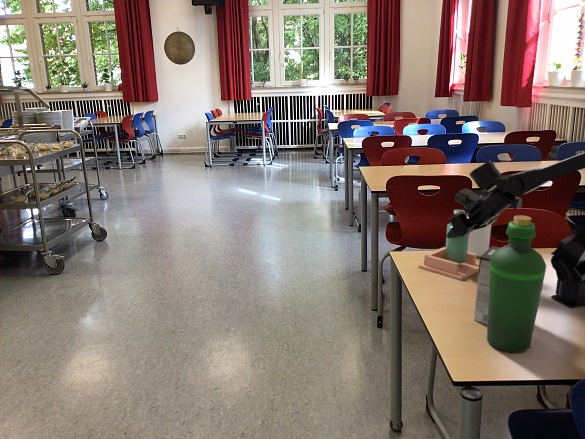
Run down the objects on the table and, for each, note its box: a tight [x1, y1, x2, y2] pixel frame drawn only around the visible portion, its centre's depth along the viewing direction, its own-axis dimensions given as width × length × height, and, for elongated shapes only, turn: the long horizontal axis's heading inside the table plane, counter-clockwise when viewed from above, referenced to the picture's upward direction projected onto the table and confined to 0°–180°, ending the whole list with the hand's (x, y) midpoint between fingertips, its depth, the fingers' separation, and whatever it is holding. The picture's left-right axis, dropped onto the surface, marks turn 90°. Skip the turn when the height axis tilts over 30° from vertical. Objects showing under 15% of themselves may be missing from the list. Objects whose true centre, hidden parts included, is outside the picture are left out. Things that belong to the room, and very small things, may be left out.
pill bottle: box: [467, 217, 492, 258], centre depth 157 cm, size 8×8×15 cm
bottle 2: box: [486, 214, 547, 353], centre depth 101 cm, size 11×11×28 cm
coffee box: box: [473, 245, 501, 325], centre depth 114 cm, size 9×6×16 cm
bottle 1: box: [445, 209, 469, 264], centre depth 144 cm, size 6×6×15 cm
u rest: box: [418, 246, 479, 281], centre depth 147 cm, size 14×14×4 cm
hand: (453, 234), depth 144 cm, fingers closed on bottle 1, 6 cm apart
